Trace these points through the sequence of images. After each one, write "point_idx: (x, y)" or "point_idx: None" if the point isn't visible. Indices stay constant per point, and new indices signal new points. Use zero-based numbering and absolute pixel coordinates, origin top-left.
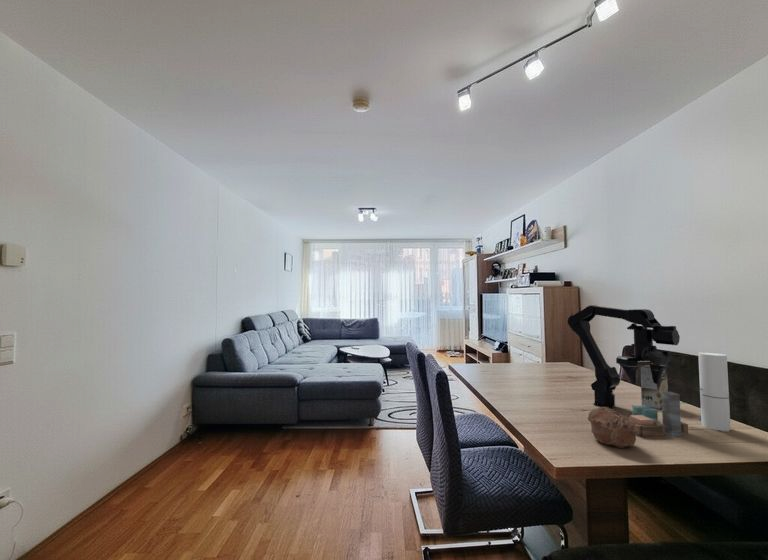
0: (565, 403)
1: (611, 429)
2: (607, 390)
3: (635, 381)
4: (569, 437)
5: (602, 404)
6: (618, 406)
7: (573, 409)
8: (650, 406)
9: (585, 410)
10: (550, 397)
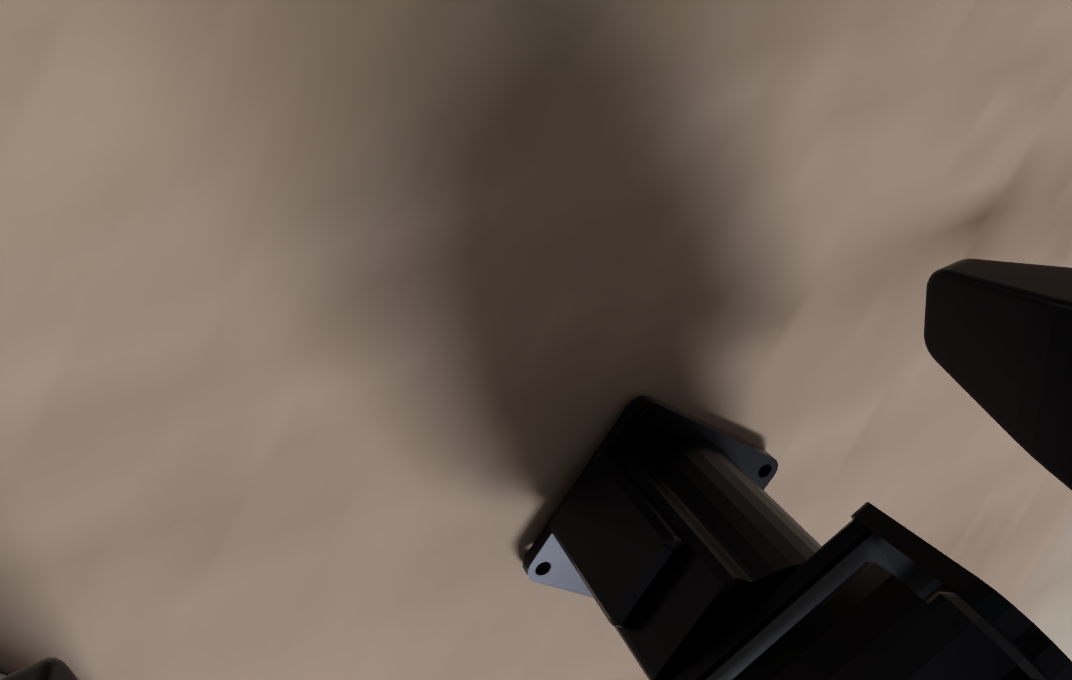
0: None
1: None
2: (792, 587)
3: (1022, 290)
4: None
5: (718, 449)
6: (495, 519)
7: (1065, 215)
8: (3, 676)
9: (976, 212)
10: (1001, 561)
